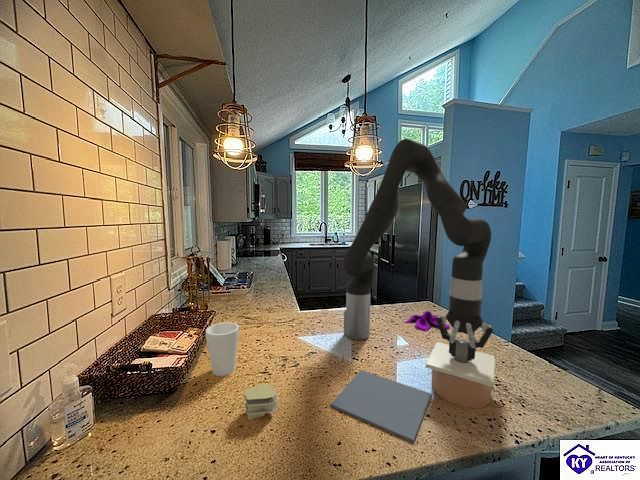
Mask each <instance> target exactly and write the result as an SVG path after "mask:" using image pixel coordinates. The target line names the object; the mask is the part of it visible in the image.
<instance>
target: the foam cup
mask: <svg viewBox="0 0 640 480" xmlns="http://www.w3.org/2000/svg"><path fill="white" fill-rule="evenodd" d="M205 329H206V330H205V340H206V343H207V349H208V353H209V354H208V355H209V359H210V366H211V371H212V374H213V375H214V376H217V377H224V376H225V377H226V376H229V375H230V374H232V373H233V372H234V371H235V367H236V361H237V353H238V352H237V351H238V346H239V345H238V344H239V336H240V325H239V324H237V323H235V322H220V323H219V322H218V323H215V324H212V325H209V326H208V327H206V328H205Z"/></svg>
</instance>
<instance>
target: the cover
mask: <svg viewBox="0 0 640 480" xmlns="http://www.w3.org/2000/svg"><path fill="white" fill-rule="evenodd" d="M469 347H470V342H469V340H467V339H462V338H455V354H454V357H453V356H451V354H450V353H449V344H446V343H442V342H438V341H437V342H436V343H435V345H434V347H433V349H432V351H431V353H430V355H429V357H428V359H427V360H426V362H425V368H427V369H430V370H432V369H433V370H436V371H439V372H443V373H446V374H450V375H453V376H456V377H460V378H463V379H467V380H470V381H473V382H477V383H480V384H484V385H487V386H490V387H491V388H494V386H495V385H494V383H495V382H494V381H495V361H496V356H495V355H492V354H488V353H486V352H485V353H484V352H480V351H479V352H478V351H476V350H475V358H474V360H473V359H472V360H471V361H468V357H469Z"/></svg>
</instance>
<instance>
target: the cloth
mask: <svg viewBox="0 0 640 480" xmlns="http://www.w3.org/2000/svg"><path fill="white" fill-rule="evenodd" d="M438 316H439V315H437V314H436V315H435V314H432V312H431V311H429V310H425V312H423V314H421V315H419V314H414V315H411V316H410V317H409V318H408V319H407V320H406V321H405V323H406V324H411V323H413V322H415V325H414V329H417V330H420V331H421V332H422V331H423V332H428V331H429V330H430V329H431V326H432V327H435V328H437V329H438V330H439V331H440V329H439V326H438V324H437V321H436V319H437V317H438ZM445 326H446V329H447V330H448V329H450V328H451V325H448V324H446V323H445Z"/></svg>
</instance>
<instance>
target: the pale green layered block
mask: <svg viewBox="0 0 640 480" xmlns="http://www.w3.org/2000/svg"><path fill="white" fill-rule="evenodd" d="M243 391H244V399H245V402H244V408H245V411H246V415H247V418H248V420H249V421H250V420H253V419H257V418H261V417H264V416H266V415H265V414H269V413H272V412H275V410H276V409H277V407H278V404H277V403H276V401H277V399H278V396H277V393H278V391H277V390H276V389H275V388H274V387H273V386H272V385H271V384H270V383H260V384H258V385H255V386H252V387H249V388H246V389H244V390H243Z"/></svg>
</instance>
